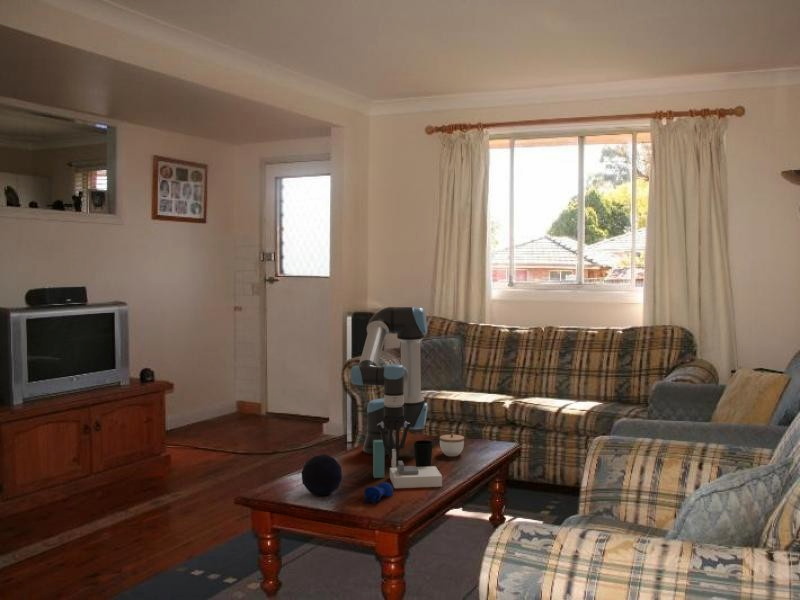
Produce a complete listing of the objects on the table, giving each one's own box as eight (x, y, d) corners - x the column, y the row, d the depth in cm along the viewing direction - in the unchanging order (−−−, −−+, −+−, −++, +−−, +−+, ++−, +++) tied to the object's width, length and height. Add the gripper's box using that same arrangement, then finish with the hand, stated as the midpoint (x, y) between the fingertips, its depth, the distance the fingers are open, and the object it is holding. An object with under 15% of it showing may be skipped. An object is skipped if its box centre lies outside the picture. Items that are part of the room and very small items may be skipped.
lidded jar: (463, 458, 338) (463, 436, 337) (438, 457, 339) (438, 435, 339) (465, 452, 348) (465, 431, 348) (440, 451, 350) (441, 430, 349)
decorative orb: (316, 470, 297) (304, 444, 288) (352, 474, 292) (341, 448, 283) (302, 501, 287) (289, 475, 278) (339, 506, 282) (327, 480, 273)
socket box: (389, 477, 307) (389, 467, 307) (435, 476, 309) (435, 466, 309) (394, 488, 293) (394, 477, 293) (441, 486, 295) (442, 476, 295)
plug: (373, 475, 311) (373, 440, 310) (383, 474, 311) (383, 439, 311) (374, 477, 307) (374, 442, 306) (384, 477, 307) (384, 442, 307)
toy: (378, 507, 273) (396, 494, 286) (378, 489, 272) (396, 477, 286) (361, 504, 276) (380, 491, 289) (360, 487, 275) (379, 475, 289)
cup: (431, 475, 311) (431, 445, 310) (412, 473, 313) (412, 444, 312) (434, 469, 319) (434, 440, 318) (415, 468, 320) (415, 439, 319)
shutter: (397, 469, 303) (397, 460, 303) (415, 469, 304) (415, 459, 304) (399, 474, 296) (399, 465, 296) (418, 474, 297) (418, 464, 297)
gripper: (377, 407, 294) (377, 470, 295) (412, 406, 295) (412, 468, 297) (375, 404, 301) (375, 464, 302) (409, 403, 303) (409, 463, 304)
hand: (393, 466), depth 300 cm, fingers closed
